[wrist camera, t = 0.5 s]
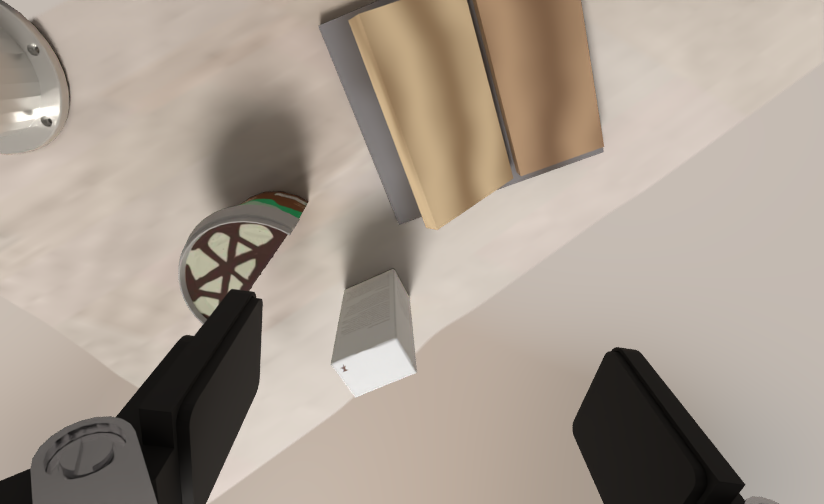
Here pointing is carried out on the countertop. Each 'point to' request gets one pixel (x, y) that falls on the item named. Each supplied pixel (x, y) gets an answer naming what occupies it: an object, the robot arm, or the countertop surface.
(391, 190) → the floor board
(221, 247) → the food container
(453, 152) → the oak plank
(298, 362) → the countertop surface
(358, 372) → the skincare box
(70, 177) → the countertop surface
